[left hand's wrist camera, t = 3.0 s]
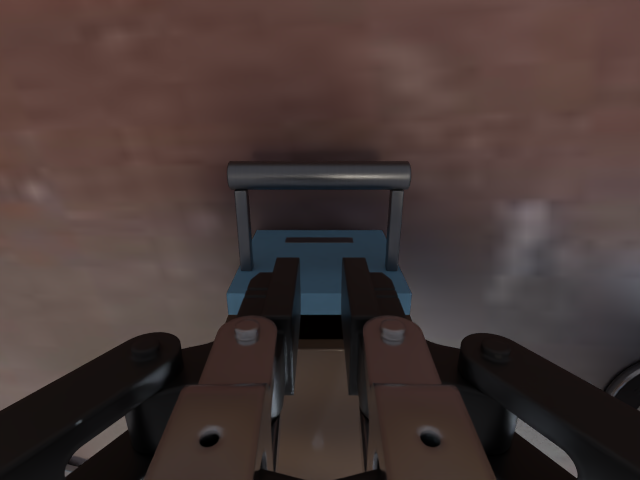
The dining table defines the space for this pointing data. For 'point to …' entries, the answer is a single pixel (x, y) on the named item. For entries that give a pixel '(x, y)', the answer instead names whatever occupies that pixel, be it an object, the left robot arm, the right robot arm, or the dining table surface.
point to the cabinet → (320, 416)
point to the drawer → (318, 235)
